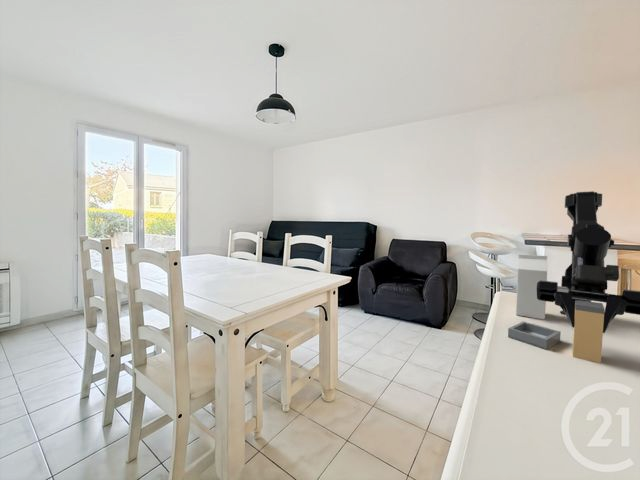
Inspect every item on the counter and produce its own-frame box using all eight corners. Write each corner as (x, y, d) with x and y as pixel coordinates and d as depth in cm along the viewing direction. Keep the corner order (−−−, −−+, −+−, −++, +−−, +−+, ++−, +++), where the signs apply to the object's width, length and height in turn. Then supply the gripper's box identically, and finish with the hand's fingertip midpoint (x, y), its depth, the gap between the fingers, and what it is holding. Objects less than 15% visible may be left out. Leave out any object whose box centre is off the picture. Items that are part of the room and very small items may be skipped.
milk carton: (544, 320, 82) (547, 257, 81) (515, 315, 87) (518, 256, 85) (543, 313, 88) (546, 254, 86) (516, 309, 92) (518, 253, 91)
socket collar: (522, 329, 76) (523, 321, 76) (560, 340, 69) (560, 331, 69) (507, 337, 72) (508, 328, 72) (546, 349, 65) (546, 340, 65)
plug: (572, 349, 65) (575, 299, 64) (598, 355, 62) (602, 303, 61) (572, 356, 62) (575, 304, 60) (600, 363, 59) (604, 308, 58)
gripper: (538, 248, 69) (533, 302, 62) (654, 254, 56) (664, 322, 49) (539, 274, 75) (534, 325, 68) (643, 284, 63) (650, 348, 56)
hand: (588, 329), depth 60 cm, fingers closed on plug, 4 cm apart
